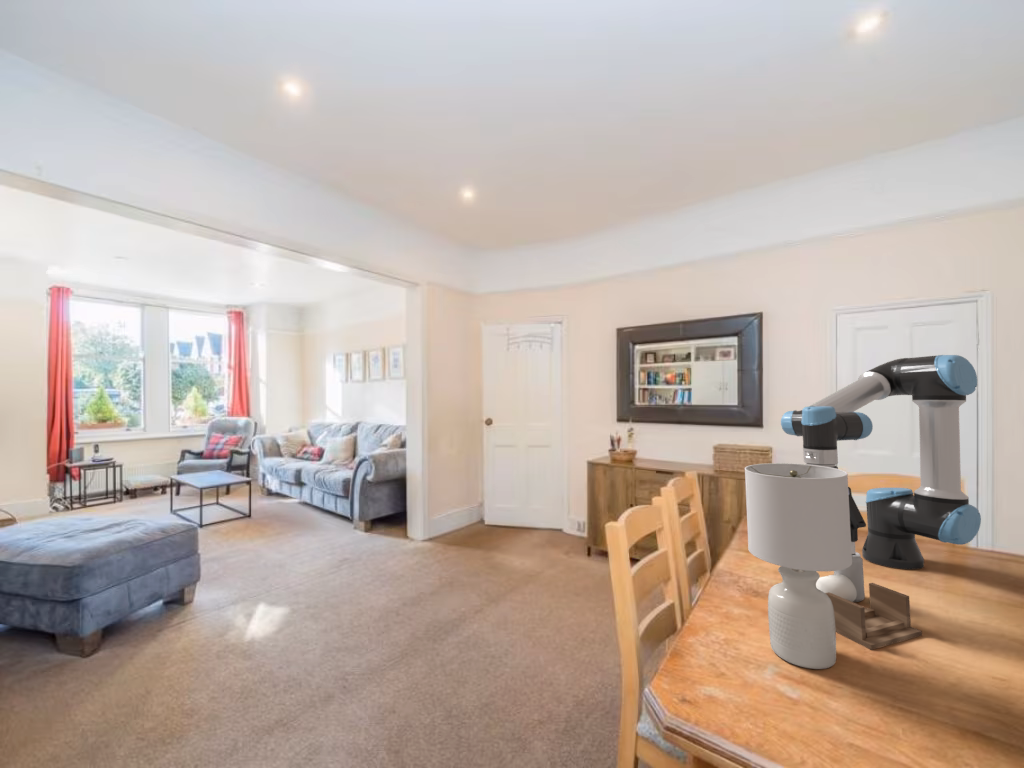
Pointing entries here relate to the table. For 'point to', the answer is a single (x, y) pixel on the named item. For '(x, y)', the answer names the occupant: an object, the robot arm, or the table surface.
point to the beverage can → (855, 575)
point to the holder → (875, 618)
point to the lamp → (800, 552)
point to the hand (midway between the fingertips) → (823, 545)
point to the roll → (837, 586)
